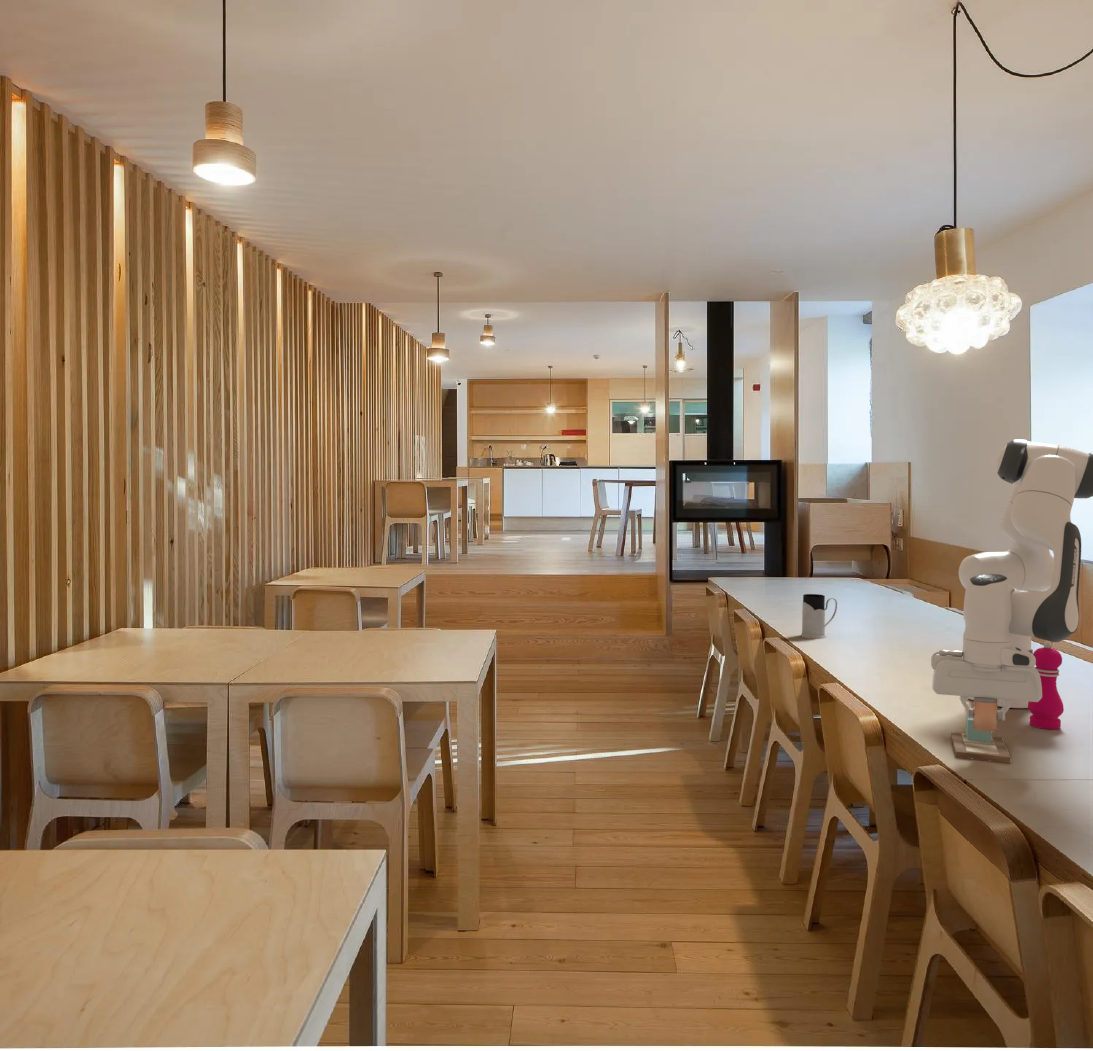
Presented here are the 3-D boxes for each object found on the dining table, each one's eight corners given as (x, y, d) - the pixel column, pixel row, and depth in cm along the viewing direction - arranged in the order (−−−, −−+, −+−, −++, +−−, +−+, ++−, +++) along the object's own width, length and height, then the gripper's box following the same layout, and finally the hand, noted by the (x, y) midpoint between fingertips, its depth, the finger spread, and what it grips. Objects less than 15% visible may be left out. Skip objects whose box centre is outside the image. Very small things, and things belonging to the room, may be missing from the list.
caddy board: (951, 737, 188) (951, 731, 188) (1001, 742, 184) (1001, 736, 184) (955, 757, 175) (956, 750, 175) (1010, 763, 171) (1010, 756, 171)
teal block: (965, 734, 186) (966, 714, 185) (988, 736, 184) (989, 716, 184) (967, 740, 181) (968, 719, 181) (991, 742, 180) (991, 722, 179)
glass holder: (795, 634, 309) (796, 594, 308) (828, 632, 313) (829, 592, 312) (810, 639, 300) (810, 597, 300) (843, 636, 305) (844, 595, 304)
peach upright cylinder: (968, 725, 177) (969, 694, 177) (989, 725, 178) (989, 693, 177) (980, 732, 173) (981, 699, 173) (1001, 731, 173) (1001, 699, 173)
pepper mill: (1030, 719, 202) (1032, 636, 200) (1065, 724, 197) (1068, 640, 196) (1024, 726, 196) (1027, 641, 195) (1060, 732, 192) (1063, 645, 190)
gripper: (932, 652, 175) (931, 717, 176) (1044, 659, 168) (1042, 727, 169) (930, 646, 181) (929, 709, 182) (1039, 653, 174) (1037, 719, 175)
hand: (984, 718), depth 175 cm, fingers closed on peach upright cylinder, 4 cm apart
